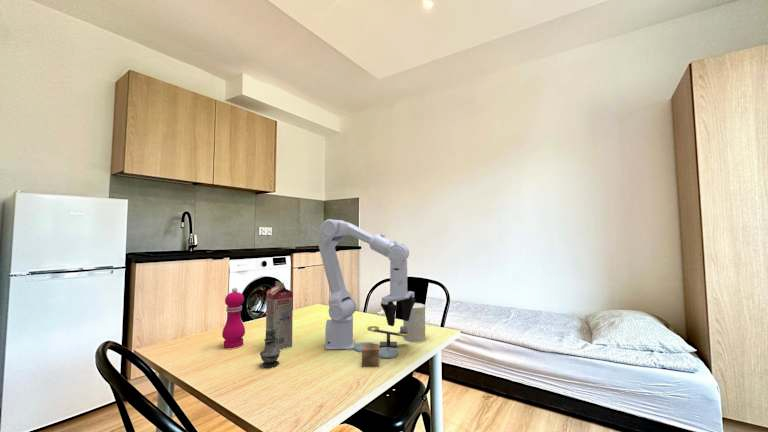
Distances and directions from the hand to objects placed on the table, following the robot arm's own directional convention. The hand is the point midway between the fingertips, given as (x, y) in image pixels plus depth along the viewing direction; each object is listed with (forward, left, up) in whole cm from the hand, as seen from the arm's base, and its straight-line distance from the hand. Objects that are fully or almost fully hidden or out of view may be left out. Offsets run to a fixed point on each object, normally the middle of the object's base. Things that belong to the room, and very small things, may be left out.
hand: (398, 322), depth 102 cm
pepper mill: (-57, +8, -10) cm, 59 cm away
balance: (-3, +6, -10) cm, 12 cm away
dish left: (-11, +4, -10) cm, 15 cm away
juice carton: (-41, +7, -10) cm, 43 cm away
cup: (+7, +14, -10) cm, 19 cm away
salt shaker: (-39, -8, -10) cm, 41 cm away
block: (-9, -8, -10) cm, 15 cm away
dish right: (-4, -1, -10) cm, 11 cm away
